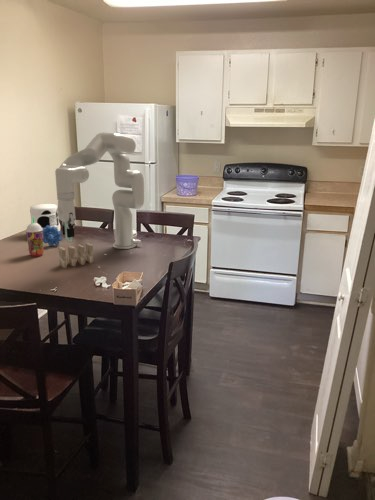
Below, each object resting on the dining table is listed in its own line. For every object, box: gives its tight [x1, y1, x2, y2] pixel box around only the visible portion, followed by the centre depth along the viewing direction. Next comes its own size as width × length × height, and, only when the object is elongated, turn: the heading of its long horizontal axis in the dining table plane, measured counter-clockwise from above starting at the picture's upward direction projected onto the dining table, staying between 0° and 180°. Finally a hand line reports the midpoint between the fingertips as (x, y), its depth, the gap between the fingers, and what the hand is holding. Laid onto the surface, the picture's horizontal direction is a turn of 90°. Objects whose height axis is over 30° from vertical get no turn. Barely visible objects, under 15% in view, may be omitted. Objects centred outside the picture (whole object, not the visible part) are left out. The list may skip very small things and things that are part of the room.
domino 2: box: [64, 220, 74, 243], centre depth 197 cm, size 2×5×9 cm, turn 35°
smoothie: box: [25, 217, 44, 258], centre depth 223 cm, size 8×8×20 cm
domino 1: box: [58, 246, 67, 269], centre depth 208 cm, size 2×5×9 cm, turn 33°
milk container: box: [29, 203, 61, 232], centre depth 261 cm, size 17×17×18 cm
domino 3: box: [67, 245, 77, 267], centre depth 211 cm, size 2×5×9 cm, turn 34°
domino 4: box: [76, 243, 85, 266], centre depth 213 cm, size 2×5×9 cm, turn 34°
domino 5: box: [85, 242, 94, 264], centre depth 215 cm, size 2×5×9 cm, turn 34°
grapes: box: [42, 225, 63, 247], centre depth 239 cm, size 12×7×12 cm, turn 107°
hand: (68, 235), depth 198 cm, fingers closed on domino 2, 4 cm apart
